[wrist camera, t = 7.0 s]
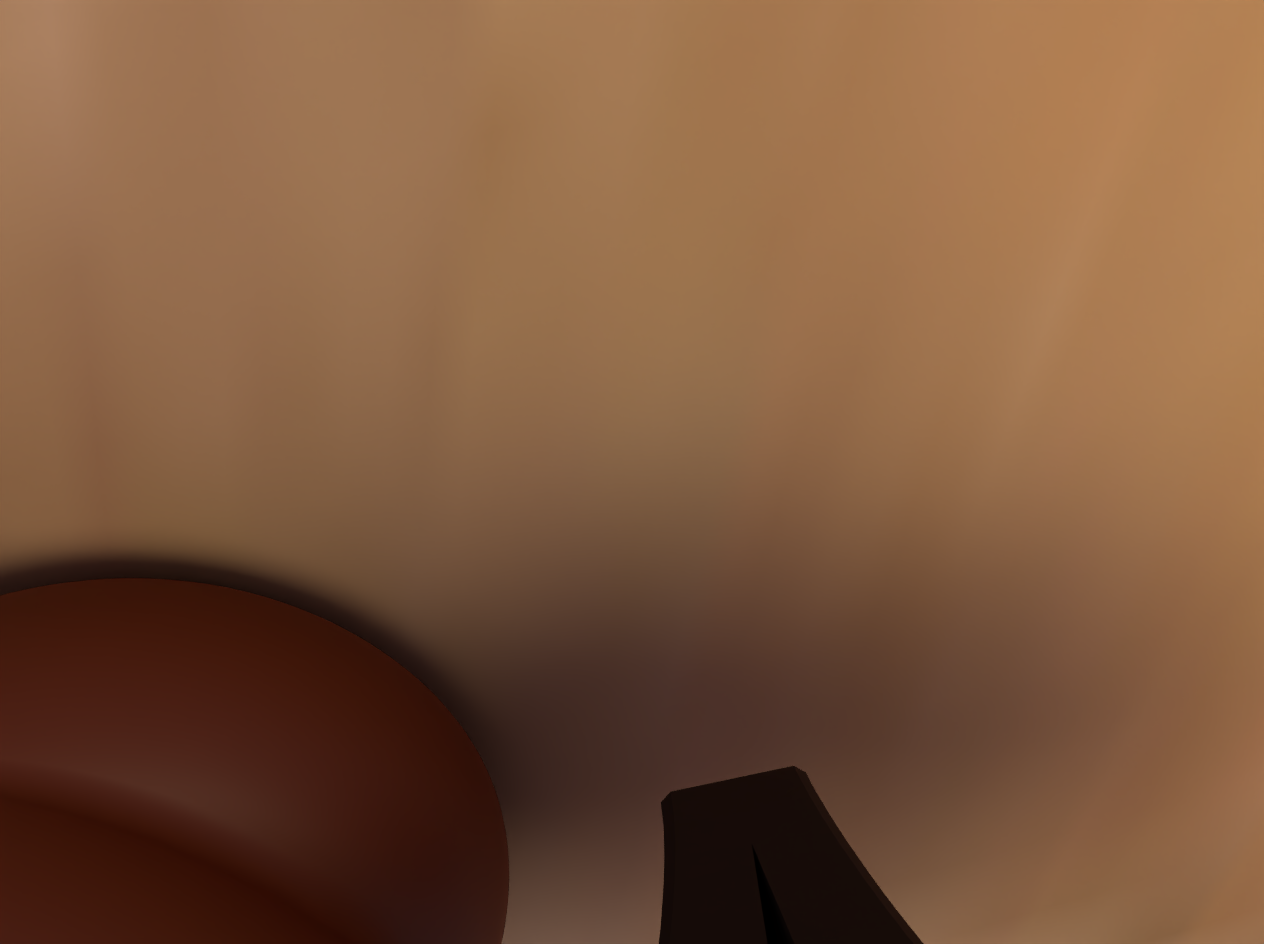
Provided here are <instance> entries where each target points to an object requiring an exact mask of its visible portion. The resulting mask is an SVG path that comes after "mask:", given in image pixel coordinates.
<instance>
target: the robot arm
mask: <svg viewBox="0 0 1264 944" xmlns="http://www.w3.org/2000/svg"><path fill="white" fill-rule="evenodd" d="M661 807H662V816H663V824H664V888H663V903H662V917H661V930H660V938H659V944H923V943H922V942H921V940H920V939H919V938H918V936H917V935H916V934H915V933H914V931H913V930H912V929H911V928H910V926H909V925H908V924H907V923H906V921H905V920H904V919H903V918H902V916H901V915H900V914H899V913H898V911H897V910H896V909H895V907H894V906H893V905H892V904H891V902H890V901H889V900H888V898H887V897H886V896H885V894H884V893H883V892H882V890H881V889H880V887H879V886H878V885H877V883H876V882H875V881H874V879H873V878H872V877H871V875H870V874H869V872H868V871H867V869H866V868H865V867H864V865H863V864H862V862H861V861H860V860H859V858H858V857H857V855H856V854H855V852H854V851H853V850H852V848H851V847H850V845H849V844H848V842H847V841H846V839H845V838H844V836H843V835H842V833H841V832H840V830H839V829H838V827H837V826H836V824H835V822H834V821H833V819H832V818H831V816H830V815H829V813H828V811H827V810H826V808H825V806H824V805H823V803H822V801H821V800H820V798H819V796H818V794H817V793H816V791H815V789H814V787H813V786H812V784H811V782H810V780H809V778H808V776H807V774H806V772H804V771H802V770H800V769H798V768H797V767H795V766H791V767H786V768H781V769H777V770H772V771H767V772H762V773H758V774H753V775H748V776H743V777H739V778H734V779H729V780H724V781H720V782H715V783H710V784H705V785H701V786H696V787H691V788H686V789H682V790H677V791H672V792H670V793H669V794H668V795H667V796H666V798H665V799H664V800H663V801H662V802H661Z"/></svg>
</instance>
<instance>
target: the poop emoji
mask: <svg viewBox="0 0 1264 944" xmlns="http://www.w3.org/2000/svg"><path fill="white" fill-rule="evenodd" d="M508 891H509V859H508V847H507V838H506V831H505V826H504V821H503V817H502V812H501V808H500V805H499V801H498V798H497V795H496V792H495V789H494V786H493V784H492V781H491V778H490V776H489V774H488V772H487V770H486V767H485V765H484V763H483V761H482V759H481V757H480V755H479V754H478V752H477V750H476V748H475V747H474V745H473V743H472V742H471V740H470V739H469V737H468V735H467V734H466V732H465V731H464V729H463V728H462V727H461V725H460V724H459V723H458V721H457V720H456V719H455V718H454V716H453V715H452V714H451V713H450V712H449V710H448V709H447V708H446V707H445V706H444V704H443V703H442V702H441V701H440V700H439V699H438V698H437V697H436V696H435V695H434V694H433V693H432V692H431V691H430V690H429V689H428V688H427V687H426V686H425V685H424V684H423V683H422V682H421V681H419V680H418V679H417V678H416V677H415V676H414V675H412V674H411V673H410V672H409V671H408V670H406V669H405V668H404V667H403V666H401V665H400V664H399V663H397V662H396V661H395V660H394V659H392V658H391V657H389V656H388V655H386V654H385V653H384V652H382V651H381V650H379V649H378V648H376V647H375V646H373V645H371V644H370V643H368V642H367V641H365V640H363V639H362V638H360V637H358V636H356V635H355V634H353V633H351V632H349V631H347V630H346V629H344V628H342V627H340V626H338V625H336V624H334V623H332V622H330V621H327V620H325V619H323V618H321V617H319V616H316V615H314V614H312V613H309V612H307V611H305V610H302V609H299V608H297V607H294V606H291V605H289V604H286V603H283V602H280V601H277V600H274V599H270V598H267V597H264V596H260V595H257V594H253V593H249V592H245V591H241V590H236V589H232V588H227V587H222V586H216V585H211V584H204V583H197V582H190V581H179V580H168V579H151V578H113V579H95V580H84V581H74V582H67V583H60V584H52V585H46V586H41V587H35V588H30V589H25V590H21V591H16V592H12V593H8V594H4V595H0V944H501V943H502V938H503V932H504V927H505V921H506V913H507V905H508Z"/></svg>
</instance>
